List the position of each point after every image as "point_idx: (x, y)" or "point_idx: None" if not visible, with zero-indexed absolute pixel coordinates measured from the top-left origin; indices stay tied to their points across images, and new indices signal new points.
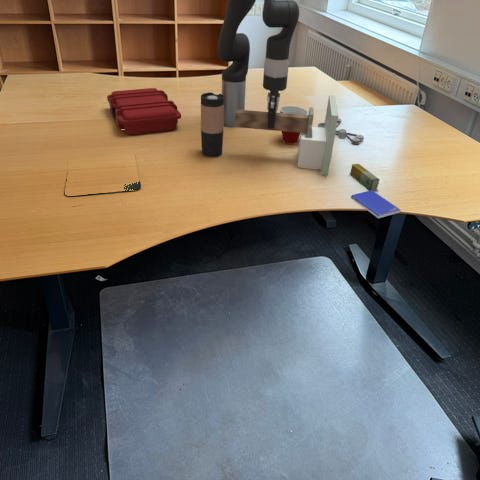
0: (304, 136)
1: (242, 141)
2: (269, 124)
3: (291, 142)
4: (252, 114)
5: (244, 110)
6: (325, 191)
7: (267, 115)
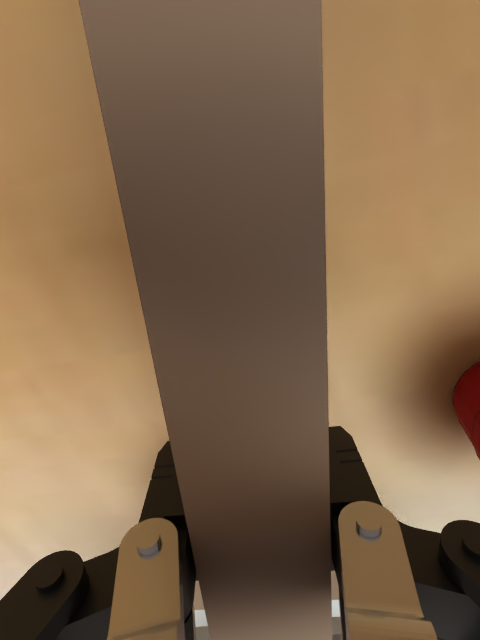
0: (198, 624)
1: (457, 94)
2: (157, 469)
3: (455, 408)
4: (142, 293)
5: (297, 63)
6: (9, 561)
7: (34, 578)
